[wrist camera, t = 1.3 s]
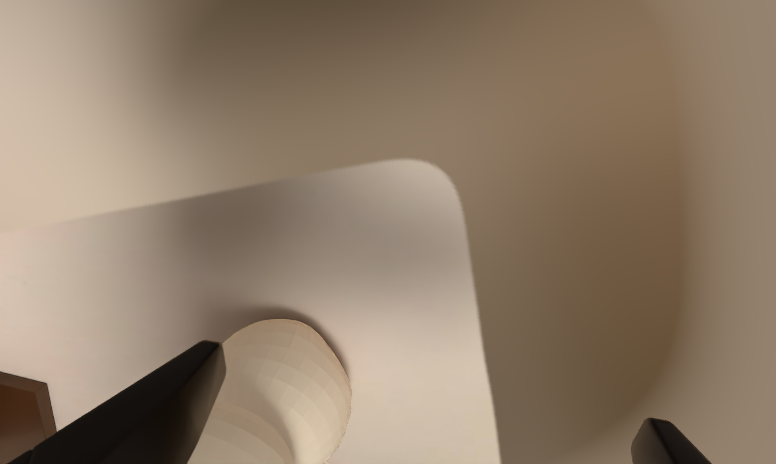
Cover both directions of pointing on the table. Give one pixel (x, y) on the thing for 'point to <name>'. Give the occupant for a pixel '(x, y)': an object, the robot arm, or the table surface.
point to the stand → (23, 416)
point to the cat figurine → (277, 399)
